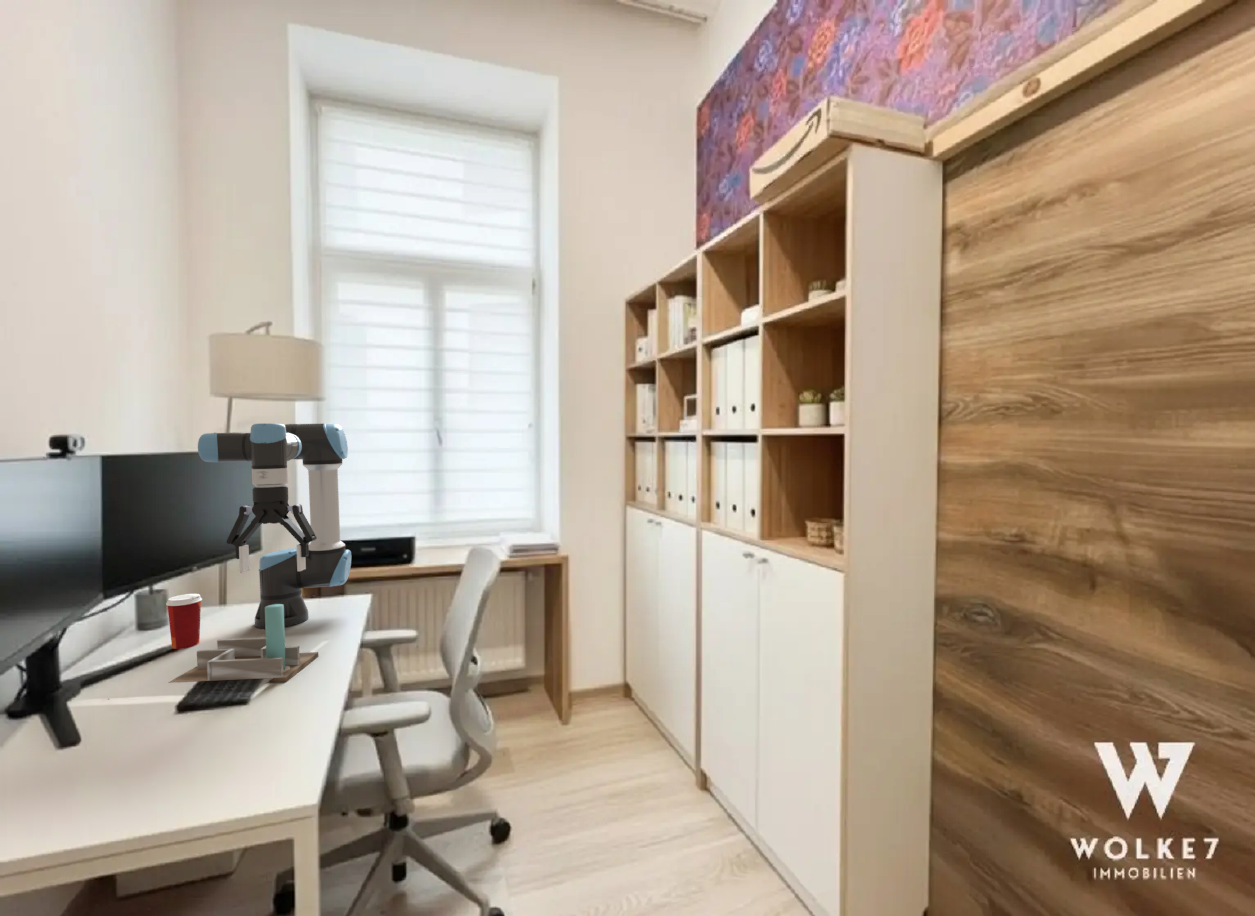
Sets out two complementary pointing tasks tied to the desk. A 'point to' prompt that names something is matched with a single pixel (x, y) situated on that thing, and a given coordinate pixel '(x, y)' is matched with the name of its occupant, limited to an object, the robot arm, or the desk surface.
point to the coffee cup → (184, 620)
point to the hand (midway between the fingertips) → (273, 571)
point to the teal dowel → (275, 632)
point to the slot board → (245, 662)
